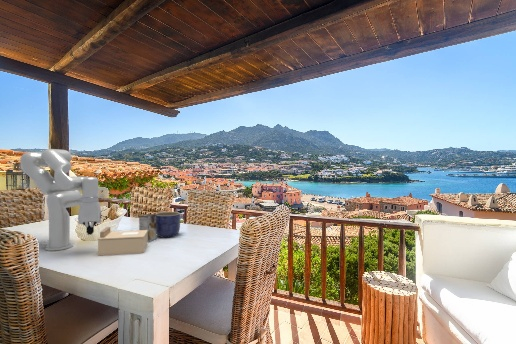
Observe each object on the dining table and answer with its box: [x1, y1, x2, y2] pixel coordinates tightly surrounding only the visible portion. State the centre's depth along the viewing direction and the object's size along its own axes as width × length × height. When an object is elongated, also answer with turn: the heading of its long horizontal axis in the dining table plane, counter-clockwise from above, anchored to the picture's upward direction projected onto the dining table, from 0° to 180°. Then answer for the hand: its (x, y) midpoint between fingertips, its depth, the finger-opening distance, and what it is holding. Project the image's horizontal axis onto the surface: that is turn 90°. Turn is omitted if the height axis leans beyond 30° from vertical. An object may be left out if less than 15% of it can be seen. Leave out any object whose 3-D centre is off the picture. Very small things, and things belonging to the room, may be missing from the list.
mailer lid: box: [97, 226, 148, 241], centre depth 152 cm, size 22×15×4 cm
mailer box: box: [97, 233, 148, 257], centre depth 152 cm, size 22×15×8 cm
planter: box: [155, 211, 181, 238], centre depth 185 cm, size 17×16×15 cm
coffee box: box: [138, 213, 157, 244], centre depth 172 cm, size 9×6×16 cm
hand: (90, 234), depth 148 cm, fingers closed
